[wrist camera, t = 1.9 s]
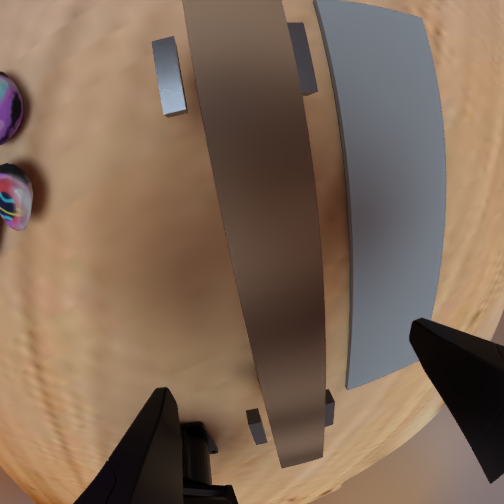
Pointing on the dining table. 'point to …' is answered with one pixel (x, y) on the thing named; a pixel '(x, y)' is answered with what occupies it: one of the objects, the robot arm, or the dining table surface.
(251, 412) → the dark brown blocks
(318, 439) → the rail
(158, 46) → the grey block
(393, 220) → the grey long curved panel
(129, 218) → the dining table surface
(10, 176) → the decorative sculpture
